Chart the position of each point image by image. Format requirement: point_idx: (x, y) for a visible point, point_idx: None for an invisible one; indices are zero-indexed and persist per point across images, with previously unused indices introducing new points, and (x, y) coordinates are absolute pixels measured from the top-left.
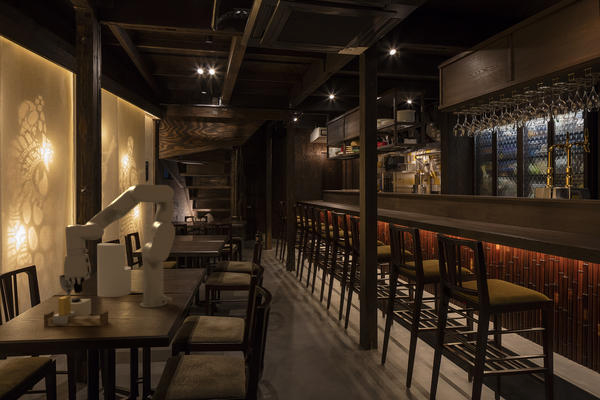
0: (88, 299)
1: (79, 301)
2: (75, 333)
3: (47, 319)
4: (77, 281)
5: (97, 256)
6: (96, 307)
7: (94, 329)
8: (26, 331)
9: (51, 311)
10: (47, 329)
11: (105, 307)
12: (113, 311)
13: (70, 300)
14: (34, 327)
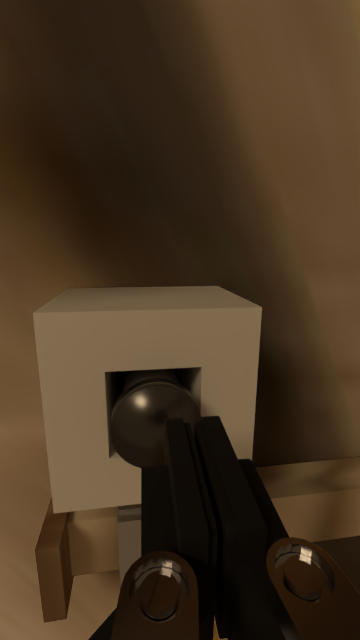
0: (248, 335)
1: (166, 364)
2: None
3: (72, 573)
4: (198, 623)
5: None
6: (172, 73)
7: (350, 547)
8: (22, 614)
9: (45, 555)
10: (117, 576)
11: (251, 83)
12: (350, 221)
13: (214, 626)
14: (15, 559)
